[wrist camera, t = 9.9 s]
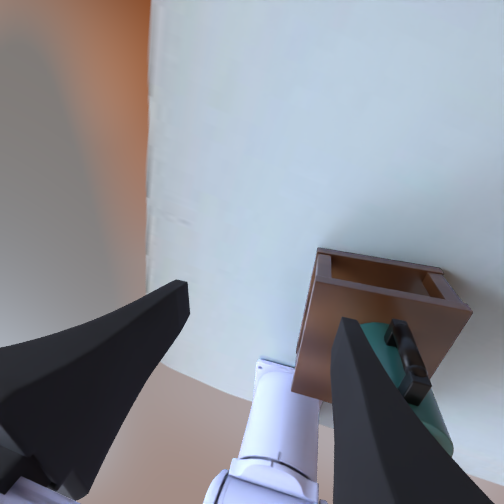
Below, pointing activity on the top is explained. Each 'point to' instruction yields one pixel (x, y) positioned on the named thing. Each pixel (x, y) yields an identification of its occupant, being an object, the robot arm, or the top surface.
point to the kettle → (408, 373)
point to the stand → (373, 311)
